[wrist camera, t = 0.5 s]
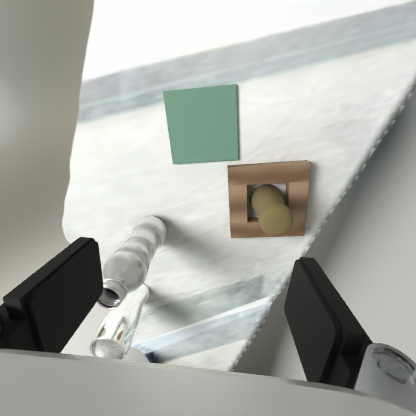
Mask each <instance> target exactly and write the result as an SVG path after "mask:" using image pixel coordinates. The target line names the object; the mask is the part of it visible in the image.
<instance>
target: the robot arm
mask: <svg viewBox="0 0 416 416" xmlns="http://www.w3.org/2000/svg"><path fill="white" fill-rule="evenodd" d="M103 289H104V286H103V278H102V270H101V262H100V254H99V246H98V243H97V242H96V241H95V240H94V239H93V238H85V237H80V238H78V239H77V240H75V241H74V242H73V243H72V244H70V245H69V246H68V247H67V248H65V249H64V250H63V251H62V252H61V253H59V254H58V255H56V256H55V257H54V258H53V259H51V260H50V261H49V262H47V263H46V264H45V265H44V266H42V267H41V268H40V269H39V270H37V271H36V272H35V273H33V274H32V275H31V276H30V277H28V278H27V279H26V280H25V281H23V282H22V283H21V284H20V285H18V286H17V287H16V288H14V289H13V290H12V291H11V292H9V293H8V294H7V295H6V296H4V297H3V301H4V303H3V304H2V305H1V306H0V416H416V363H415V362H414V361H412V360H411V359H410V358H409V357H408V356H407V355H405V354H404V353H402V352H401V351H399V350H397V349H395V348H393V347H391V346H389V345H385V344H382V343H372V341H371V340H370V338H369V337H368V335H367V334H366V332H365V331H364V329H363V328H362V326H361V325H360V324H359V322H358V321H357V319H356V318H355V316H354V315H353V313H352V312H351V310H350V309H349V308H348V306H347V305H346V303H345V302H344V300H343V299H342V297H341V296H340V294H339V293H338V292H337V290H336V289H335V287H334V286H333V285H332V283H331V282H330V280H329V279H328V277H327V276H326V274H325V273H324V271H323V270H322V269H321V267H320V266H319V264H318V263H317V261H316V260H315V259H314V258H306V257H300V259H299V260H296V261H295V264H294V268H293V272H292V276H291V280H290V284H289V289H288V293H287V297H286V301H285V306H284V310H285V315H286V318H287V321H288V324H289V327H290V330H291V333H292V336H293V339H294V342H295V345H296V348H297V351H298V354H299V357H300V360H301V363H302V366H303V369H304V372H305V375H306V378H307V381H301V380H293V379H286V378H277V377H270V376H262V375H253V374H244V373H236V372H227V371H219V370H210V369H201V368H192V367H183V366H174V365H165V364H156V363H147V362H137V361H128V360H119V359H109V358H100V357H90V356H80V355H71V354H61V353H60V352H61V351H62V350H63V348H64V347H65V345H66V344H67V343H68V341H69V340H70V338H71V337H72V336H73V334H74V333H75V331H76V330H77V329H78V327H79V326H80V324H81V323H82V322H83V320H84V319H85V317H86V316H87V315H88V313H89V312H90V310H91V309H92V308H93V306H94V305H95V303H96V302H97V301H98V299H99V298H100V296H101V295H102V293H103Z"/></svg>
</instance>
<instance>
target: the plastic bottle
mask: <svg viewBox="0 0 416 416" xmlns="http://www.w3.org/2000/svg"><path fill="white" fill-rule="evenodd" d="M166 233H167V229H166V226H165V224H164V223H163V221H161V220H160V219H159V218H157V217H154V216H146V217H144V218H142V219H141V220H139V221H138V222H137V223H136V225H135V227H134V229H133V232H132V234H131V236H130V237H129V239H128V240H127V241H126V242H125V243H124V244H123V245H122V246H121V247H120V248H119V249H118V250H117V251H115V252H114V253H113V254H112V255H111V256H110V257H109V258H108V259H107V260H106V262H105V265H104V268H103V286H104V289H103V293H102V295H101V296H100V298H99V299H98V301H97V303H98V304H99V305H100V306H102V307H103V308H106V309H115V308H117V307H119V306H120V304H121V303H122V301H123V300H124V299H125V297H126V296H127V293H130V292H133V291H135V290H137V289H138V288H139V287H140V286H141V285H142V284H143V283H144V281H145V279H146V276H147V273H148V269H149V265H150V262H151V260H152V258H153V255H154V254H155V252H156V251H157V249H158V248H159V247H160V246H161V245H162V244H163V242H164V241H165V239H166Z"/></svg>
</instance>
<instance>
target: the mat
mask: <svg viewBox="0 0 416 416" xmlns="http://www.w3.org/2000/svg"><path fill="white" fill-rule="evenodd" d="M163 94H164V102H165V109H166V116H167V124H168V131H169V138H170V145H171V153H172V160H173V164H182V163H196V162H211V161H226V160H238V129H237V94H236V84H233V85H223V86H213V87H203V88H193V89H183V90H173V91H163Z"/></svg>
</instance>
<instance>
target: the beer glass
mask: <svg viewBox="0 0 416 416" xmlns="http://www.w3.org/2000/svg"><path fill="white" fill-rule="evenodd" d="M149 296H150V290H149V288H148V287H147V286H146V285H145V284H142V285H141V286H140V287H139V288H138V289H137V290H135V291H133V292H130V293H127V296H126V297H125V299H124V300H123V301H122V303H121V304H120V306H119V307H117V308H115V309H112V310H111V311H110V312H109V313H108V315H107V316H106V317H105V319H104V320H103V322H102V323H101V325H100V327H99V329H98V330H97V333H96V334H95V336H94V339H93V340H92V342H91V344H90V351H91V353H92V355H93V356H94V357H100V358H109V359H119V360H123V359H124V358H125V355H126V353H127V351H128V349H129V347H130V345H131V343H132V341H133V339H134V337H135V334H136V332H137V328H138V325H139V321H140V316H141V311H142V308H143V306H144V304H145V302H146V301H147V300H148V298H149Z"/></svg>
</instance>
